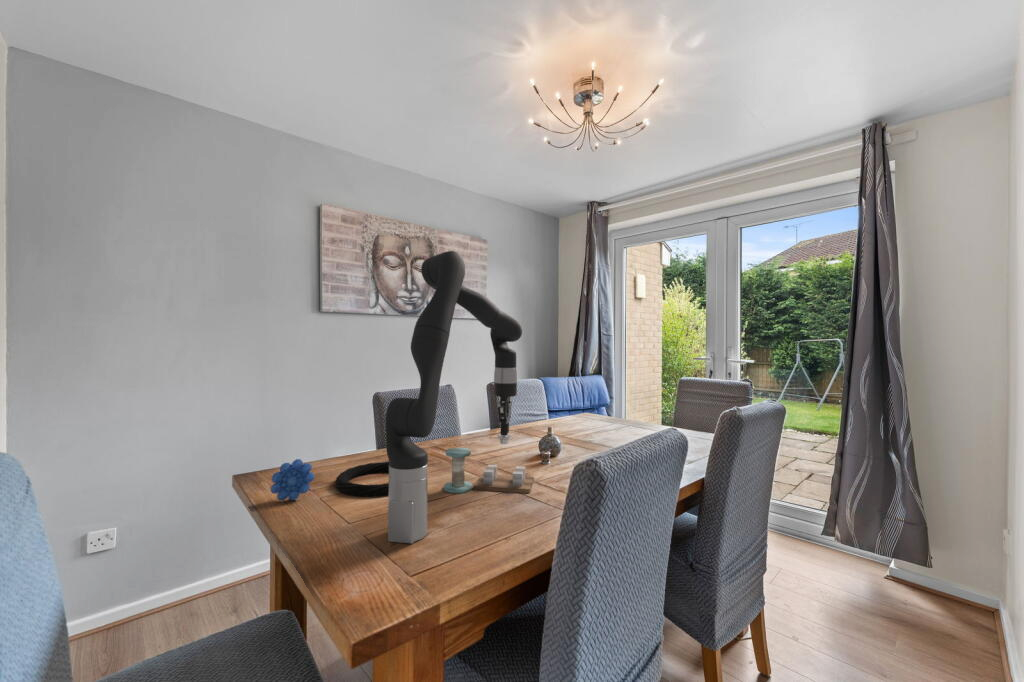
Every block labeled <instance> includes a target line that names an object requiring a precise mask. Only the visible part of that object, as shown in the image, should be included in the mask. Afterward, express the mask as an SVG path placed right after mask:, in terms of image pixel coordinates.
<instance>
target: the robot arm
mask: <svg viewBox="0 0 1024 682" xmlns="http://www.w3.org/2000/svg"><path fill="white" fill-rule="evenodd" d="M422 262H423V263H422V264H421V267H420V268H421V277H422V278H423V280H424V282H425V283H426V284H427V285H428V286H429V287H430V288H431V289H433V290H435V291H434V293H433V295H432V297H431V299H430V300H429V302H428V303H427V305H426V306H425V307H424V309H423V310H422V312H421V313H420V315H419V316H418V318H417V320H416V323H415V325H414V328H413V333H412V337H411V341H410V351H411V355H412V358H413V360H414V364H415V366H416V368H417V371H418V374H419V378H420V386H419V394H418V397H417V398H414V397H413V398H411V397H395V398H393V399H392V400H391V401H390V402H389V403H388V406H387V408H386V412H385V419H384V420H385V423H384V424H385V441H386V442H385V443H386V456H387V458H388V462H389V472H388V483H389V495H388V503H387V504H388V510H387V511H388V512H387V513H388V516H387V518H388V519H387V520H388V523H387V527H388V528H387V542H391V543H403V544H414V542H417V541H420V540H422V539H424V538H425V537H426V536H427V534H428V470H429V469H428V464H429V463H428V462H429V461H428V460H429V457H428V456H429V455H428V452H427V450H425V449H424V448H421V447H420V446H419V445H417V444H415V442H414V441H413V440H412V439H411V438H426V437H428V436H429V435H431V432H432V431H433V429H434V425H435V421H436V416H437V408H438V400H439V391H440V390H439V389H440V383H441V376H442V372H443V366H444V361H445V356H446V353H447V348H448V343H449V340H450V339H449V338H450V332H451V327H452V322H453V317H454V315H455V309H456V305H459V306H460V307H462V308H463V309H465V310H466V311H467V312H469V313H470V314H471V315H472V316H473V317H474V318H475V319H476V320H478V322H480V323H481V324H482V325H483V326H484V327H486V328H489V329H490V333H489V335H490V341H491V344H492V350H493V352H494V372H493V395H494V396H495V397H499V398H500V399H499V401H498V403H497V414H498V423H499V424H500V435H509V433H510V421H511V419H512V416H511V414H512V406H513V401H512V400H511V397H512V398H513V397H516V396H517V395H518V392H517V391H518V371H517V352H516V351H515V350H514V349H512V348H510V347H509V345H508V343H510V342H511V343H513V342H516V341H519V339H520V338H522V334H523V329H522V325H521V324H520V322H519V321H518V320H517V319H515V318H514V317H513V316H511V315H509V314H508V313H507V312H505V311H502V310H500V308H499V307H497V305H496V304H494V302H493V301H491V299H489V298H488V297H487V296H485V295H484V294H481V293H480V292H477V291H475V290H473V289H470V288H469V287H466V286H464V285H463V283H464V280H465V274H466V264H465V261H464V258H463V256H462V255H461V254H460V253H459V252H458V251H454V250H448V251H444V252H441V253H439V254H436V255H433V256H430V257H429V258H427V259H425V260H424V261H422ZM503 417H504V418H505V419H502V418H503Z"/></svg>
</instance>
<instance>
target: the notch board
mask: <svg viewBox="0 0 1024 682" xmlns="http://www.w3.org/2000/svg"><path fill="white" fill-rule="evenodd" d="M534 482H535V477H533V476H526V466H520V465H519V466H517V465H516V466H515V469H514V470H513V472H512V475H500V474H498V464H488V465H487V466H486V467H485V469H484V470H483V473H481V475H480V476H479V477H478V478H477V480H476V482H475V483H474V484H473V485H472V490H475V491H476V490H478V491H492V492H507V493H522V494H523V493H524V494H530V493H531V491H532V488H533V484H534Z"/></svg>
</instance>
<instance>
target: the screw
mask: <svg viewBox="0 0 1024 682" xmlns="http://www.w3.org/2000/svg"><path fill="white" fill-rule="evenodd" d="M502 419H505V418H504V417H503V418H502ZM496 438H497V439H498V440H499V443H500V444H501V445H508V444H509V442H510V440H511V439H513V437H512V435H510V434H507V435H501V434H499V435H497V436H496Z"/></svg>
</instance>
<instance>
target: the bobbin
mask: <svg viewBox="0 0 1024 682" xmlns="http://www.w3.org/2000/svg"><path fill="white" fill-rule="evenodd" d="M471 455H472V450H471V449H470V448H468V447H452V448H448V449H446V450H445V456H446V457H450V458H451V459H452V460H451V481H448V482H446V483H444V485H443V490H444V492H447V493H449V494H466V493H469V492H470V491H472V490H473V483H472V482H470V481H466V480H465V478H466V477H465V469H466V464H465V463H466V462H465V461H466V459H465V458H466V457H470V456H471Z"/></svg>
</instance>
